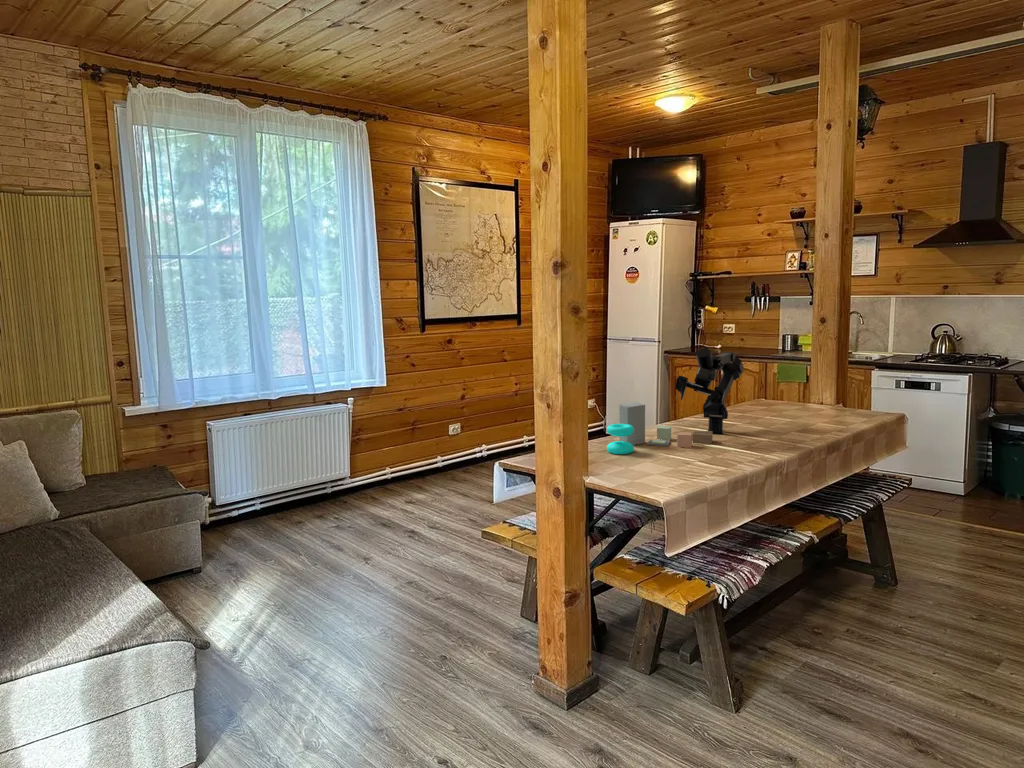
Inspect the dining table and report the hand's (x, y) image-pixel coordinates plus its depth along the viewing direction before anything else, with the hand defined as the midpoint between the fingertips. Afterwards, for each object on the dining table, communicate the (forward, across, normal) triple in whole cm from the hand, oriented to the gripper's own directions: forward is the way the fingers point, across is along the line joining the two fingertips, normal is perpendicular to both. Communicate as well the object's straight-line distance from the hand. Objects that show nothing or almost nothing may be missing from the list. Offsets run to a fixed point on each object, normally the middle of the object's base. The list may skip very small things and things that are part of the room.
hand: (692, 402), depth 271 cm
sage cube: (+6, -7, +19) cm, 21 cm away
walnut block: (+4, +7, +15) cm, 17 cm away
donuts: (+30, -17, +6) cm, 35 cm away
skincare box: (+18, -17, +14) cm, 28 cm away
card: (+14, -7, +14) cm, 21 cm away
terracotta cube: (+13, +2, +11) cm, 17 cm away
